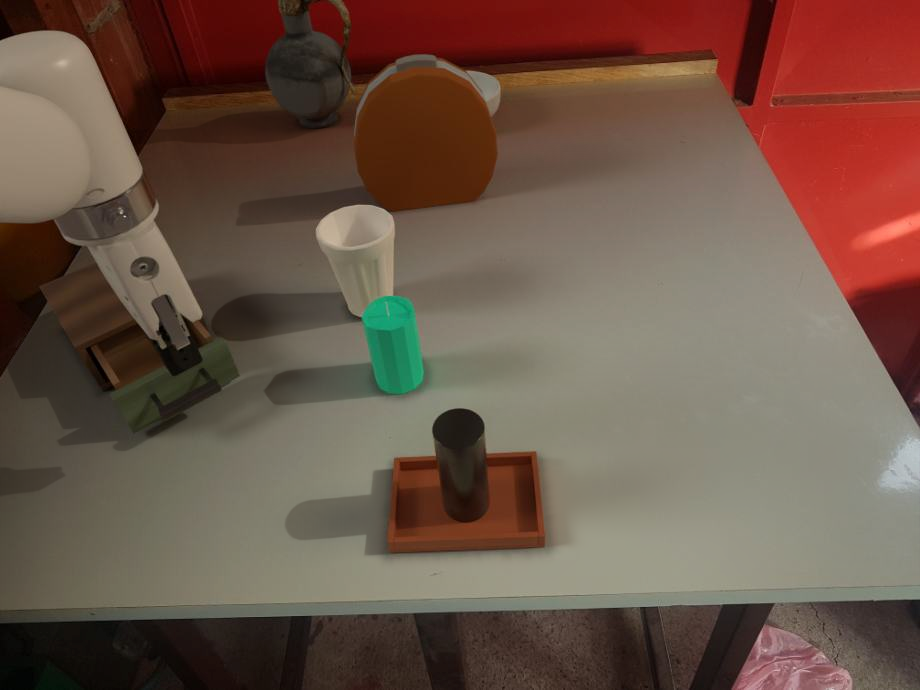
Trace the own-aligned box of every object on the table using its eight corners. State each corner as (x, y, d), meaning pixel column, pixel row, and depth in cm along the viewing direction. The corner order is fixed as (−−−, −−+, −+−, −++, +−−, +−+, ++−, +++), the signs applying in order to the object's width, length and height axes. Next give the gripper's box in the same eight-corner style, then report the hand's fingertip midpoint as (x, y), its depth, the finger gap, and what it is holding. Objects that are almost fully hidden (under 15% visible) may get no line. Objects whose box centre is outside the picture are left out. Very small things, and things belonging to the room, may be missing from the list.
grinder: (442, 523, 70) (431, 450, 61) (443, 484, 73) (432, 409, 65) (490, 522, 69) (485, 447, 61) (489, 482, 73) (483, 406, 65)
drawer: (256, 395, 84) (242, 360, 80) (147, 456, 78) (126, 422, 74) (193, 319, 95) (178, 285, 91) (94, 367, 89) (73, 334, 85)
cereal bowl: (491, 146, 126) (490, 108, 122) (404, 141, 130) (400, 105, 125) (508, 105, 138) (508, 69, 133) (428, 101, 142) (425, 67, 137)
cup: (367, 339, 91) (349, 259, 82) (320, 308, 96) (298, 229, 87) (421, 301, 96) (410, 221, 87) (374, 273, 101) (359, 195, 92)
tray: (389, 552, 68) (387, 542, 67) (396, 468, 76) (394, 457, 74) (544, 546, 67) (545, 536, 66) (536, 461, 75) (536, 451, 74)
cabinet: (211, 336, 93) (191, 291, 88) (102, 391, 87) (74, 346, 82) (167, 283, 103) (147, 240, 97) (65, 329, 97) (38, 286, 91)
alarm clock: (490, 168, 121) (485, 34, 105) (499, 198, 114) (495, 59, 98) (364, 183, 120) (339, 51, 104) (365, 214, 113) (339, 77, 97)
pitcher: (301, 104, 145) (263, -57, 125) (380, 115, 139) (354, -52, 118) (270, 127, 138) (225, -39, 118) (352, 140, 132) (320, -33, 111)
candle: (405, 352, 89) (392, 278, 80) (434, 377, 85) (423, 302, 77) (366, 375, 86) (349, 301, 78) (394, 402, 83) (379, 327, 74)
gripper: (185, 222, 52) (254, 387, 64) (117, 152, 60) (190, 310, 73) (85, 265, 49) (178, 430, 61) (29, 185, 57) (121, 344, 70)
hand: (185, 364), depth 67 cm, fingers closed
